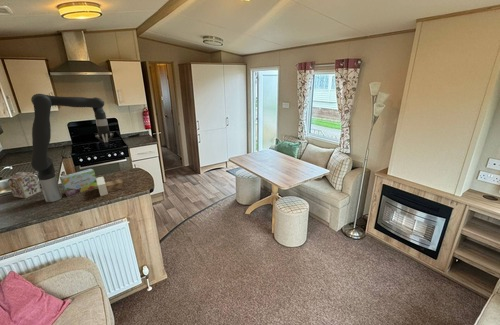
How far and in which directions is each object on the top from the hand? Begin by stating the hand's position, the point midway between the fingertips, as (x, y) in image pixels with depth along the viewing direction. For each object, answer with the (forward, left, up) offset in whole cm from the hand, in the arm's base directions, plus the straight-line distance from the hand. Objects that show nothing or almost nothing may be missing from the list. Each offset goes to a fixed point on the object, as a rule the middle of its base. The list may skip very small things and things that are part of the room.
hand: (107, 146), depth 186 cm
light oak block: (-1, -10, -33) cm, 34 cm away
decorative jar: (-57, +17, -33) cm, 68 cm away
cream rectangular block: (-10, -11, -32) cm, 35 cm away
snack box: (-23, 0, -33) cm, 40 cm away
